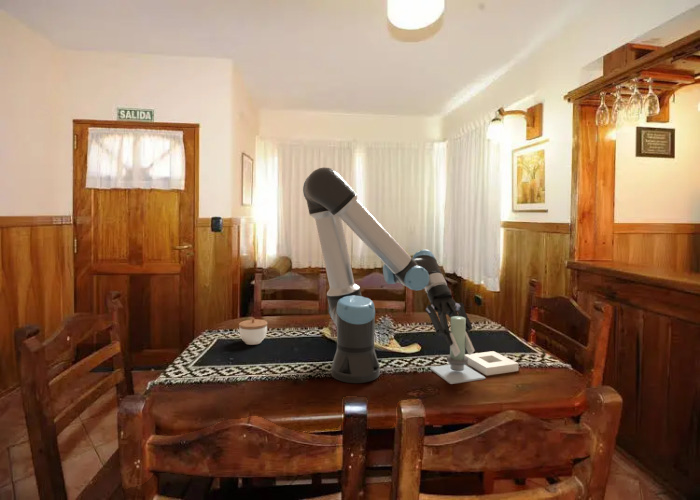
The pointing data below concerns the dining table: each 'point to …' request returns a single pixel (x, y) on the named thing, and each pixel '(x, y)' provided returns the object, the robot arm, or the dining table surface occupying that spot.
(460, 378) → the mat
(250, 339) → the lidded jar
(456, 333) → the candle in holder
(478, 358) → the socket block
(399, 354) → the dining table surface
